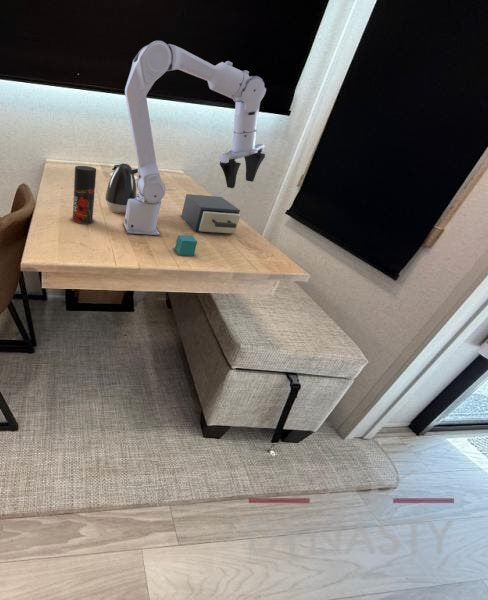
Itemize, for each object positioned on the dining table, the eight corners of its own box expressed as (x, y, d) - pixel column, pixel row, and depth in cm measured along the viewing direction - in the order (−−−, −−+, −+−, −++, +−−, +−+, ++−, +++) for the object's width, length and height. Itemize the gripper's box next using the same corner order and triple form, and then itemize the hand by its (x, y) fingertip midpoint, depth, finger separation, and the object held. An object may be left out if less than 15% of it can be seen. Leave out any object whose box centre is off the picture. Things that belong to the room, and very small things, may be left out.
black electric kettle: (132, 217, 106) (139, 168, 98) (101, 212, 107) (105, 163, 99) (136, 209, 115) (143, 163, 106) (107, 204, 116) (112, 158, 108)
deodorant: (96, 220, 100) (100, 169, 92) (84, 225, 95) (88, 171, 87) (80, 215, 102) (83, 165, 94) (68, 220, 98) (70, 167, 90)
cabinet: (232, 233, 103) (240, 210, 99) (194, 231, 101) (201, 207, 97) (215, 218, 115) (221, 196, 111) (181, 216, 114) (186, 193, 110)
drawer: (240, 238, 97) (247, 219, 94) (204, 236, 96) (209, 217, 93) (218, 219, 112) (222, 202, 109) (186, 216, 110) (190, 199, 107)
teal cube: (178, 255, 84) (182, 240, 82) (174, 248, 87) (177, 234, 85) (193, 256, 85) (197, 241, 83) (188, 249, 88) (192, 235, 86)
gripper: (237, 137, 80) (232, 193, 88) (277, 126, 85) (269, 180, 93) (215, 136, 85) (213, 188, 93) (254, 126, 91) (249, 176, 98)
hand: (240, 184), depth 93 cm, fingers open, 7 cm apart
